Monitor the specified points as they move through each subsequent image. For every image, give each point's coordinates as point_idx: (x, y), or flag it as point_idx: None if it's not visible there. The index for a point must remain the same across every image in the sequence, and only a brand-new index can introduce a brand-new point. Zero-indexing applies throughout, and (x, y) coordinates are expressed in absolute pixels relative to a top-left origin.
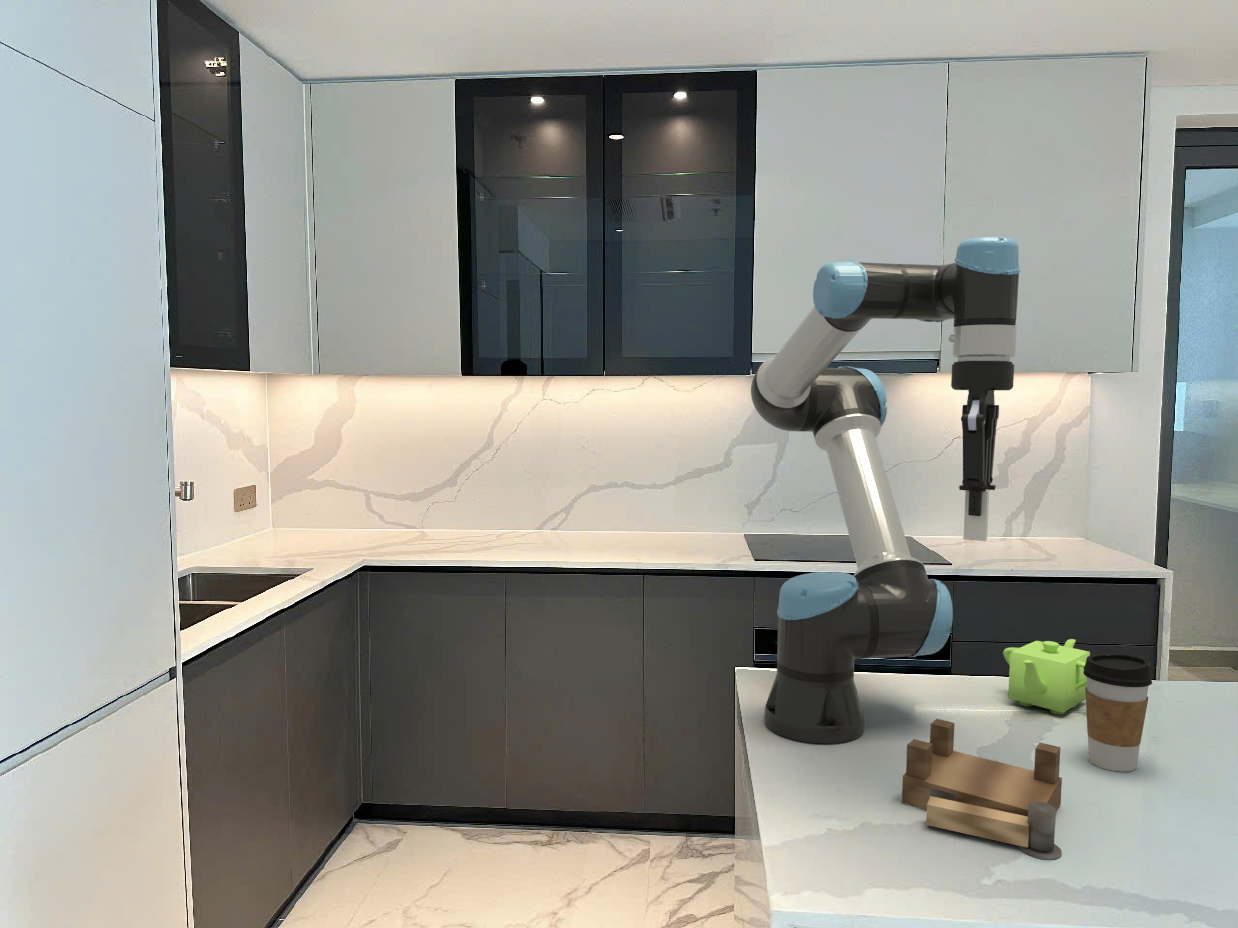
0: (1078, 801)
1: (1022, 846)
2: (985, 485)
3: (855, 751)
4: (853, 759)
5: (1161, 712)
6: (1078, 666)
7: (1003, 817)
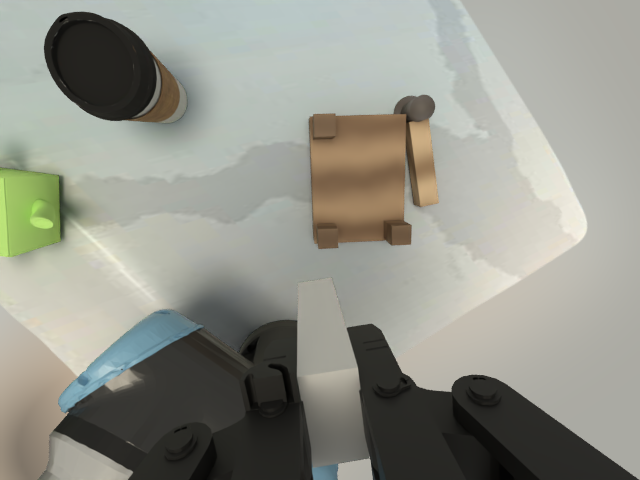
0: (290, 108)
1: None
2: (397, 393)
3: None
4: None
5: None
6: None
7: (424, 141)
